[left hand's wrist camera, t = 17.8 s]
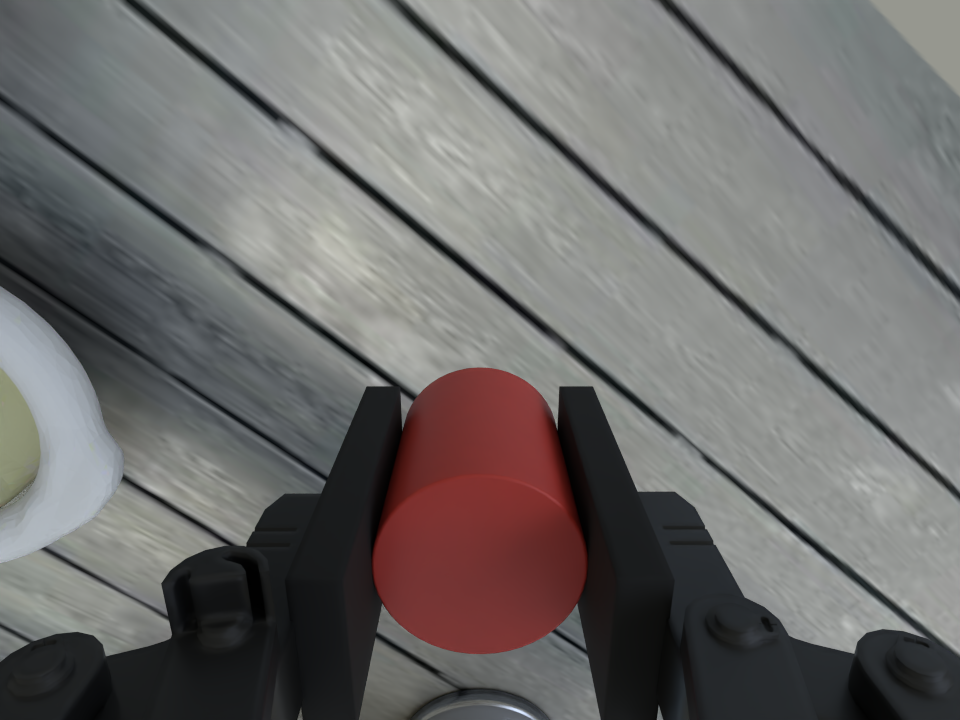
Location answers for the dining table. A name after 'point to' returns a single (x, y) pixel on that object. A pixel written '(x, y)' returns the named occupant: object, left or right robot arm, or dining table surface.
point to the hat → (48, 436)
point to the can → (479, 518)
